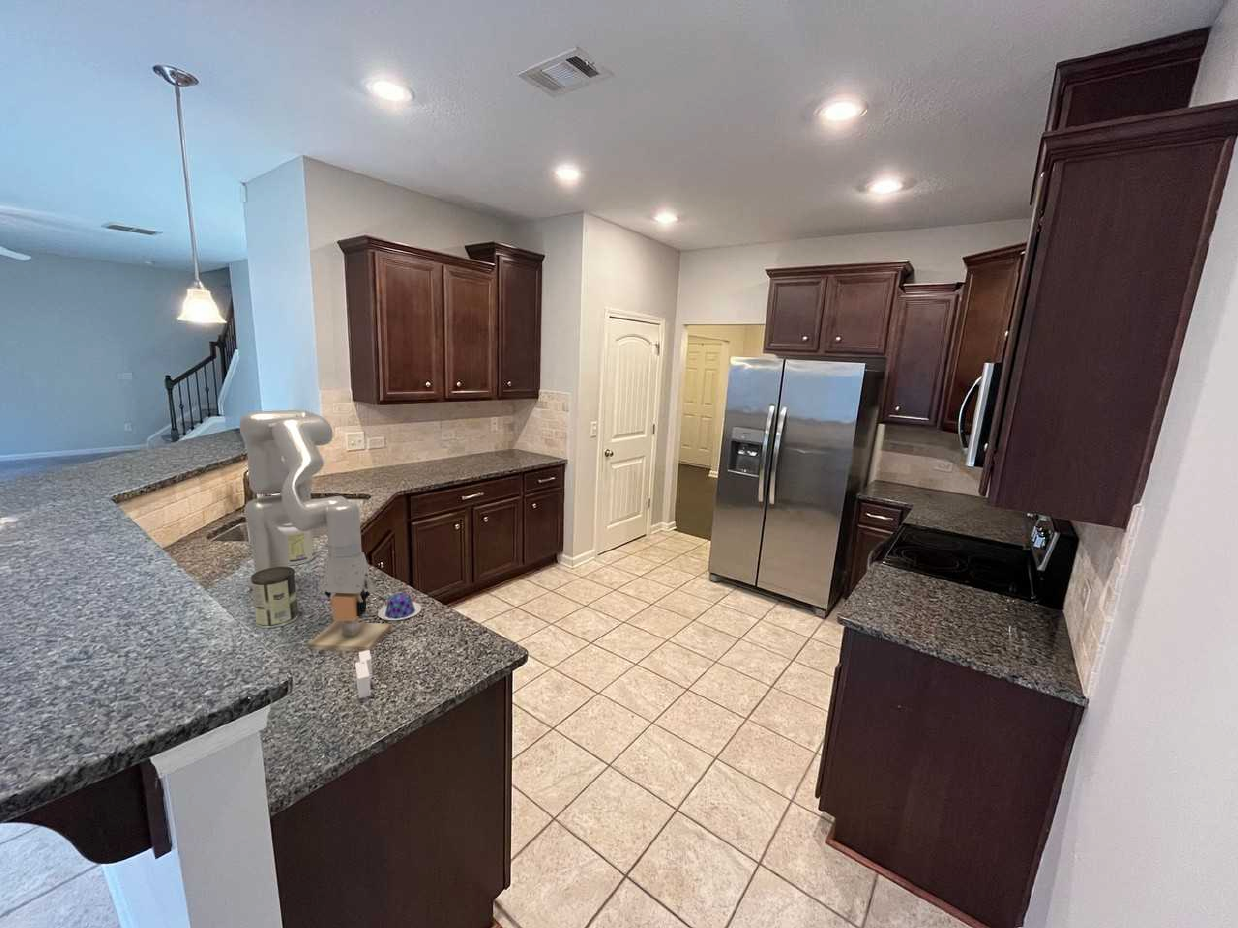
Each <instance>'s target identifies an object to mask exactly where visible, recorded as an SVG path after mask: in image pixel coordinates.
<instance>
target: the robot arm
mask: <svg viewBox="0 0 1238 928" xmlns="http://www.w3.org/2000/svg"><path fill="white" fill-rule="evenodd" d="M239 432H240V436H241V438H242V440H243V442H244V445H245V447H246V454H247V469H248V483H249V487H250V490H251V491H252V492H253V493H255V494H258V495H267V494H271V495H267V496H261V497H257V498H253V499H251V500H249V501H248V502H247V503H246V504H245V506H244V509H243V514H244V519H245V521H246V526H247V528H248V533H249V536H250V545H251V552H252V553H251V554H252V561H253V574H254V573H256V572H259V571H261V570H265V569H269V568H274V567H290V568H292V567H291V566H292V565H290V554H289V543H288V538H287V536H286V534H285V533H283V532H282V531H281V530H279V529H278V526H279V525H283V524H287V523H292V524H293V526H294V527H295V528H296V529H298V530H301V531H308V530H313V531H314V530H317V529H320V528H324V527H326V529H327V530H326V532H327V534H326V535H327V544H324V546H323V547H324V550H327V551H328V554H327V555H325V559H324V565H323V581H322V582H321V583H320V585H318V589H319V590H320V591H322V592H323V593H324V595H326V596H327V597H328V599H329V601H330V602H332V596H334V595H335V594H337V593H341V594H355V595H356V597H357V600H358V602H357V604H356V605H357V616H358V617H359V618H360V617H361V616H363V615H364V614H365V613H366V612H367V599H368V597H369V596H371V594H373V593H374V592H375V591H376V590H377V589H378V587H377V585H376V584H375V583H374V582H373V581H372V580H371V579H370V574H369V573H370V572H369V568H368V567H369V566H368V562H367V558H366V555H365V552H363V551H362V538H361V537H362V536H361V535H362V534H361V523H360V522H361V521H360V520H361V519H360V509H359V505H358V504H357V503H355V502H352V501H349V500H348V499H347V498H346V497H344V496H341V495H336V496H335V495H334V496H328V497H322V498H317V499H312V496H311V495H312V493H311V490H312V489H311V488H312V486H311V485H312V483H311V480H312V479H311V477H313V476H315V475H317V474H318V473H319V472H320V471H321V470H322V469H323V467H324V465H325V462H324V459H323V458H322V455H321V453H320V451H319V449H318V447H317V446H325V445H328V444H330V443H331V441H332V439H333V429H332V426H331V424H330V423H329V421H328V420H327V419H326V418H325V417H323V416H322V415H319V414H317V413H314V412H311V411H309V410H306V409H287V410H285V409H284V410H261V411H260V410H259V411H251V412H248V413H245V414H243V415H242V416H241V418H240V420H239ZM276 493H280V494H276ZM272 494H273V495H272ZM244 588H249V589H250V588H252V581H251V578H247V580H246V583H244ZM295 588H296V593H297V592H298V591H299V585H298V584H297V583H296V582H295ZM365 588H368V589H367V591H366V589H365ZM249 595H250V599H251V600H253V601H254V599H253V590H252V591H251V592H250V594H249Z"/></svg>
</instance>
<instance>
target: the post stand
mask: <svg viewBox="0 0 1238 928" xmlns="http://www.w3.org/2000/svg"><path fill="white" fill-rule="evenodd" d="M359 618H360V617H359ZM359 618H358V619H357V620H355V621H337V620H333V622H332V623H330V624H329V626H327V627H326V628H324V629H323V630H322V631H321V632H320V633H318V634H317V635H316V636H315V637H314V638H313V639H311V640H310V641H309V642H308V643H307V649H308V650H316V651H317V650H319V651H320V650H321V651H333V652H334V651H335V652H336V651H337V652H352V653H353V652H354V653H356V652H358V653H359V652H362V651H366V650H369V651H370V652H371V651H372V650H373V648H375V647H376V646H377V645H378V643H379V642H380V641H381V640H382V639H383V638H384V637H385V636H386V634H388V633H389V631H390V630H391V629H392V626H391V625H392V624H391V623H380V622H379V623H378V622H359V621H360V619H359Z"/></svg>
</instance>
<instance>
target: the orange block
mask: <svg viewBox="0 0 1238 928" xmlns="http://www.w3.org/2000/svg"><path fill="white" fill-rule="evenodd" d="M357 602H358V600H357V597H356V595H355V594H341V593H337V594H335V595H334V596H332V601H331V605H332V606H331V607H332V618H333V621H355V620H357V619H358V618H360V617H358V616H357V605H356V604H357Z"/></svg>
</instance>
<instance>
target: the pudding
mask: <svg viewBox="0 0 1238 928" xmlns="http://www.w3.org/2000/svg"><path fill="white" fill-rule="evenodd" d="M421 610H422V605H420V603H417V602H415V601H412V598H411V596H410V595H409V594H408V593H406V592H402V593H401V592H399V593H394V594H392V595H391V596H390V597H388V599H387V604H386V605H385V606H383V607H382V608H380V609H379V610H378V613H377V615H378V617H379V618H381V620H382V619H383V620H386V621H400V620H405V619H408V618H409V619H410V618H411V617H414V616H416V615H417V614H418V613H420V612H421Z"/></svg>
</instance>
